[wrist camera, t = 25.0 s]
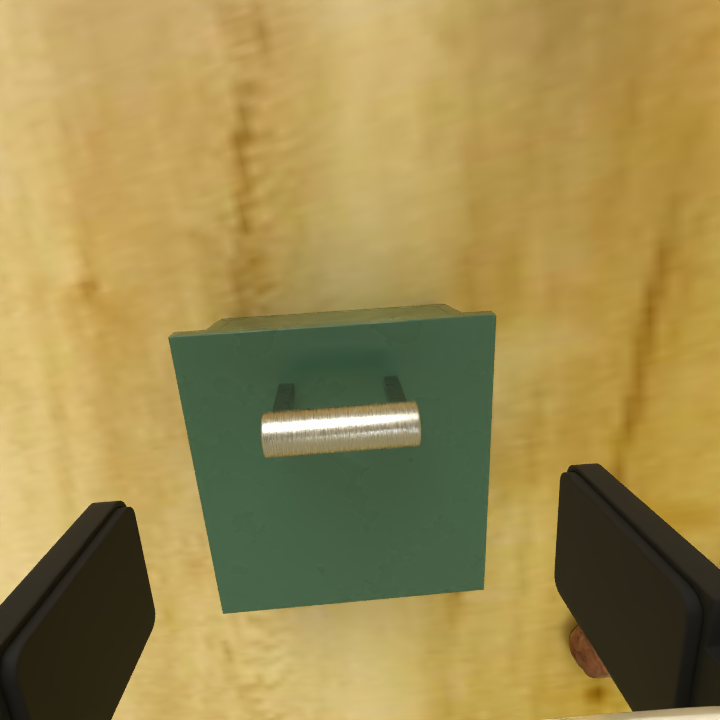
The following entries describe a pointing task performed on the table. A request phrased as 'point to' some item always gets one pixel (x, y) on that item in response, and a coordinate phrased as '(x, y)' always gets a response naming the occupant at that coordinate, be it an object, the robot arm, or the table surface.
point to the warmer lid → (341, 456)
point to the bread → (586, 655)
